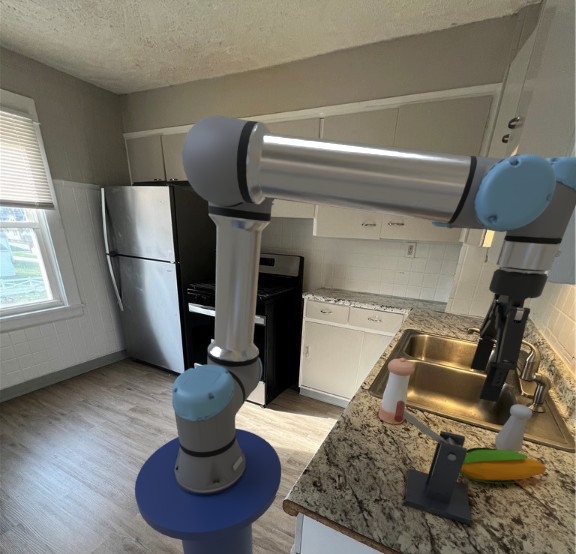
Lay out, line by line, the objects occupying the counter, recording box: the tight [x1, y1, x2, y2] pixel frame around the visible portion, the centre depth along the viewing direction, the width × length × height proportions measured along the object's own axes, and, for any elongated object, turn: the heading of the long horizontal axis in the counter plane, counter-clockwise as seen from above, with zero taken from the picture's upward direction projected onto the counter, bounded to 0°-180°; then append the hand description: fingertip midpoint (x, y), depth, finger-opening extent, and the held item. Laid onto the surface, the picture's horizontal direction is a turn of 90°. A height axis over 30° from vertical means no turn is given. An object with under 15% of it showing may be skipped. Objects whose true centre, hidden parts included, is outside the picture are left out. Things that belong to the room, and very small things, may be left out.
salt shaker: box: [494, 403, 533, 453], centre depth 78 cm, size 6×6×13 cm
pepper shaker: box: [378, 357, 415, 425], centre depth 89 cm, size 7×7×19 cm
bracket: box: [404, 430, 472, 526], centre depth 64 cm, size 12×10×15 cm
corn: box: [460, 446, 547, 484], centre depth 71 cm, size 7×8×20 cm
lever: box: [394, 401, 461, 447], centre depth 62 cm, size 14×6×2 cm, turn 69°
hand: (482, 383), depth 61 cm, fingers open, 13 cm apart
